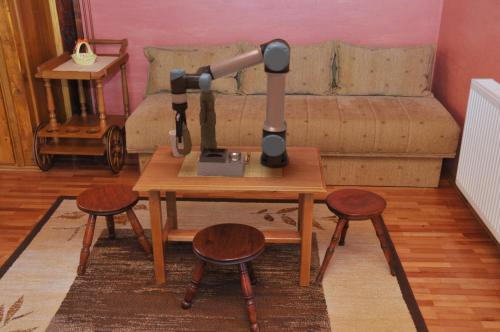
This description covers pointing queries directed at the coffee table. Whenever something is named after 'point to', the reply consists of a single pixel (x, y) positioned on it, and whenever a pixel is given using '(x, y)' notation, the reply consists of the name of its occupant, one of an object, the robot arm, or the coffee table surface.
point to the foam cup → (174, 143)
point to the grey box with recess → (221, 162)
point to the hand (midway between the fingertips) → (182, 145)
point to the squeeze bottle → (185, 141)
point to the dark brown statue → (207, 120)
